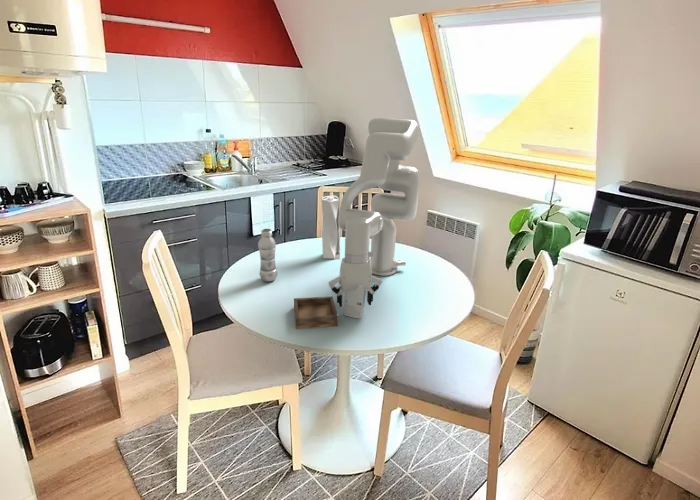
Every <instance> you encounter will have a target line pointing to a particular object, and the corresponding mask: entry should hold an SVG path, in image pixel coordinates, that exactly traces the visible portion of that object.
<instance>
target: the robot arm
mask: <svg viewBox="0 0 700 500" xmlns="http://www.w3.org/2000/svg"><path fill="white" fill-rule="evenodd" d="M367 125H368V128H367V129H368V134H369V135H368V137H367V138H366V142H365V147H364V152H363V153H364V154H363V157H362V158H363V159H362V164H361V169H360V174H359V177H357V179H356V180H355V181H354V182H353V183H352V184H350V185H349V186H348V188H347V189H346V191H345V192H344V194H343V196H342V198H341V202H340V205H339V210H338V216H337V218H338V219H337V221H338V223H337V225H338V227H339V229H341V230H342V231H344V232H345V233H344V238H345V239H344V257H343V258H341V263H340V267H339V276H337V277H335V278H334V279H331V280H329V281H328V285H329V288H330V289H331V292H333V293H335V294H336V304H338V306H339V308H341V307H342V306H343V295H342V294H344V293H345V291H353V290H356V289H357V287H358V285H364V290H366V291H367V294H366V302H367V304H368V306H371V305H372V302H374V295H375V293H376V292H377V291H378V290H379V289H380V287H381V285H382V283H383V280H382V279H381V278H379V277H378V276H380V277H382V276H384V277H385V276H387V277H388V276H392V275H393V274H395V273H397V272H398V267H399V266H401V267H403V266H406V260H402V259H400V258H397V259H396V258H395V253H396V239H397V237H396V236H397V227H396V224H395V223H394V221H393V220H395V221H403V222H411V221H413V220H415V218H416V216H417V211H418V203H419V202H418V201H419V190H420V174H419V170H418V169H417V168H416V167H413V166H409V165H408V166H407V165H401V161H406V160H407V159H408V158H410V156H411V154H412V152H413V150H414V147H415V145H416V143H417V141H418V137H419V132H420V131H419V130H420V129H419V124H418V122H416V121H415V120H413V119H403V118H394V117H375V118H372V119H370V120H369V122H368V124H367ZM375 188H378V189H380V190H383V191H388V192H378V193H376V194H374V195H373V196H372V197H371V201H370V209H371V211H370V210H364V209H356V208H352V204H353V202H354V199H355V198H356V197H357V196H359V195H360V194H361V193H364V192H365V191H368V190H371V189H375ZM389 191H390V192H396V193H389ZM397 192H398V193H403V194H397ZM370 238H371V240H370ZM370 243H371V244H370ZM375 275H376V276H375ZM373 282H374V283H375V284H373ZM336 284H338V285H339V286H338V287H336V286H335V285H336Z"/></svg>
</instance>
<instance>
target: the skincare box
mask: <svg viewBox="0 0 700 500" xmlns="http://www.w3.org/2000/svg"><path fill="white" fill-rule="evenodd" d="M366 291H367V290H364V285H358V287H357V289H356V290H353V291H344V305H343V316H346V317H350V318H354V319H359V320H360V319H361V318H362V317H363V315H364V313H365V303H366Z"/></svg>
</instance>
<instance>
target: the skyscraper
mask: <svg viewBox="0 0 700 500" xmlns="http://www.w3.org/2000/svg"><path fill="white" fill-rule="evenodd" d="M320 199H321V213H322V220H323V223H322V235H321V236H322V237H321V238H322V239H321V240H322V241H321V242H322V245H321V246H322V259H323V260H340V259H341V235H340V227H339V226H337V225H338V223H337V218H338V214H339V208H340V199H339V197H338V196H337V195H325V196H322V197H321V198H320Z"/></svg>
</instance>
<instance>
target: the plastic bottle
mask: <svg viewBox="0 0 700 500" xmlns="http://www.w3.org/2000/svg"><path fill="white" fill-rule="evenodd" d="M260 232H261V234H260V236H261V237H260V239H259V241H258V243H257V247H258V251H259V258H260V268H259V277H260V280H261V281H262V282H267V283H269V282H273V281H275V280H276V279H277V276H278V270H277V267H276V245H277V243H276V241H275V239H274V237H272V236H273V233H272V229H271V228H263V229H261V231H260Z"/></svg>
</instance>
